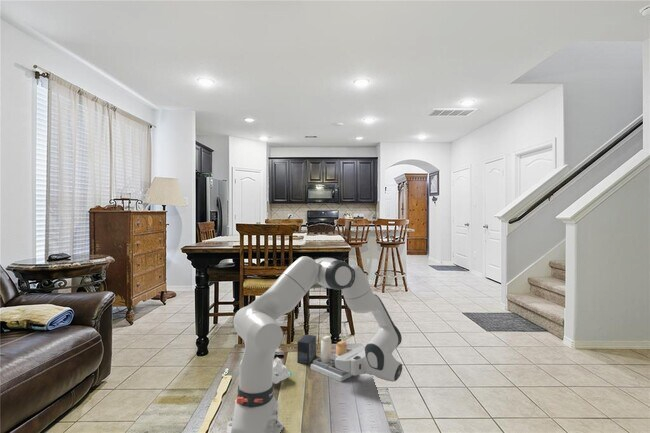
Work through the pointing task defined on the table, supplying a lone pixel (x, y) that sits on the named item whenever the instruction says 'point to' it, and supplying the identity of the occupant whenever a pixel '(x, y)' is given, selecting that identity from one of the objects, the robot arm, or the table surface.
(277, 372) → the partial skull model
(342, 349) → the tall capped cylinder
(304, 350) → the small box
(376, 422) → the table surface
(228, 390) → the table surface
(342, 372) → the grey base with column
